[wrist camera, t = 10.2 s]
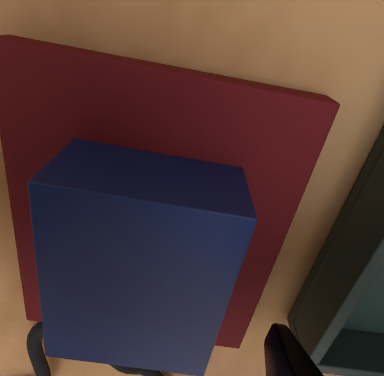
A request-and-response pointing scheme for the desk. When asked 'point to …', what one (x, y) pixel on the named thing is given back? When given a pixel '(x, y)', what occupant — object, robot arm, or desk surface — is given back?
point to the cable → (42, 365)
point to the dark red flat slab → (160, 140)
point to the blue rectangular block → (137, 254)
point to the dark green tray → (348, 284)
